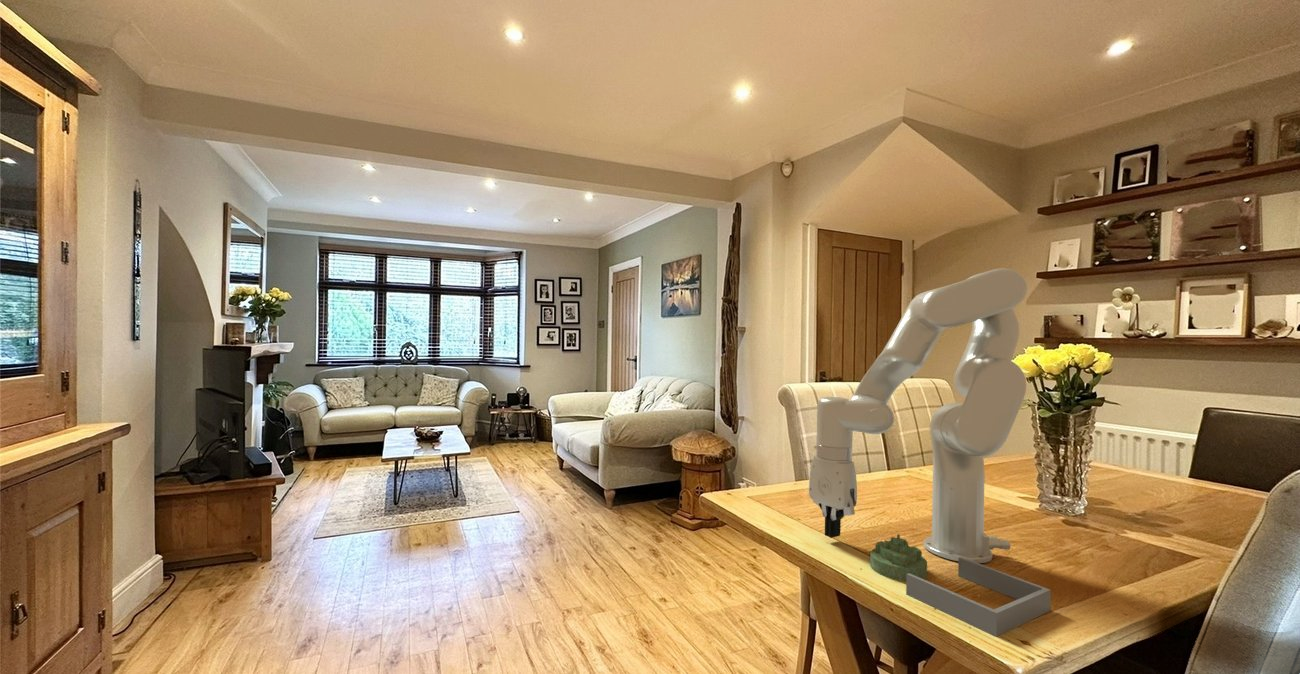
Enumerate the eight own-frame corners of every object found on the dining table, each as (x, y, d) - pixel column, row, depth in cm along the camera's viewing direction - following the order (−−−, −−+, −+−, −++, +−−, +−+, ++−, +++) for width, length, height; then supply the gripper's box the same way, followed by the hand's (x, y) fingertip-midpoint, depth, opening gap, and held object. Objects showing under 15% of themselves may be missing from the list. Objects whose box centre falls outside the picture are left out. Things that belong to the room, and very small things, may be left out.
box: (906, 594, 91) (906, 574, 91) (960, 575, 99) (961, 556, 99) (996, 636, 78) (996, 613, 78) (1050, 610, 86) (1050, 589, 86)
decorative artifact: (937, 583, 96) (911, 560, 106) (937, 545, 96) (912, 526, 106) (882, 581, 96) (862, 559, 106) (883, 543, 96) (862, 524, 106)
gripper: (797, 448, 120) (795, 527, 120) (850, 461, 107) (848, 550, 107) (820, 445, 123) (818, 522, 123) (874, 458, 110) (872, 544, 110)
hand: (832, 535), depth 115 cm, fingers closed
